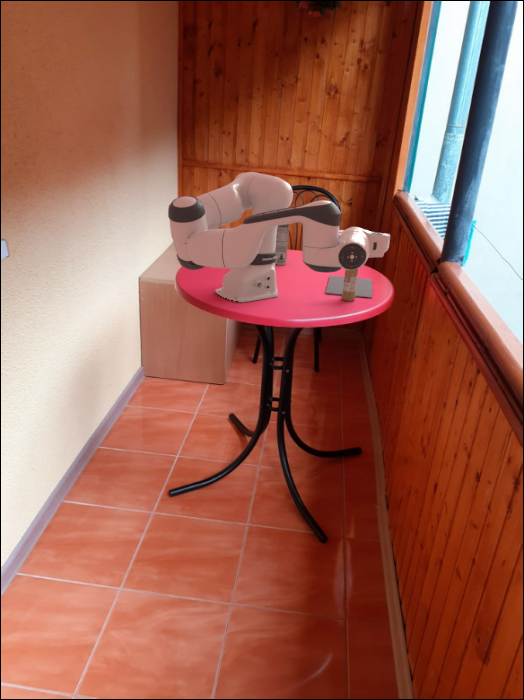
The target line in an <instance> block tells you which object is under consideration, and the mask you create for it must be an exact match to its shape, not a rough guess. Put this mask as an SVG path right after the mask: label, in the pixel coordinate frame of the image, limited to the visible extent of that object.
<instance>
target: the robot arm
mask: <svg viewBox="0 0 524 700" xmlns="http://www.w3.org/2000/svg"><path fill="white" fill-rule="evenodd" d="M293 199H294V191H293V188H292V186H291V185H290V183H288V182H287V181H286V180H284V179H282V178H280V177H279V176H273V175H270V174H265V173H261V172H260V173H259V172H256V171H248V172H247V171H246V172H242V173H241V172H240V173H239V174H237V175H236V176H235V178H234V180H233V181H232V182H230V183H228V184H226V185H224V186H222V187H220V188H216V189H213V190H211V191H208V192H206V193H203V194H200V195H198V196H196V197H195V196H191V195H185V196H184V195H183V196H179V197H177V198H175V199H173V200H172V201H171V202H170V204H169V205H168V210H167V211H168V213H167V216H168V219H169V228H170V229H169V230H170V234H171V235H170V236H171V239H172V242H173V246H174V249H175V251H176V258H177V260H178V262H179V264H180V266H182V267H183V268H185V269H187V270H191V271H196V270H202V269H204V268H207V267H208V268H213V269H214V268H215V269H230V270H229V271H228V272H227V273H226V274H224V276H223V279H222V285H221V286H222V287H221V286H220V287H219V288H216V289H215V290H214V291H215V292H216V293H217V294H219V295H220V296H222V297H221V298H223V297H224V298H223V299H225V298H227V299H226V300H228V299H229V300H228V301H231V300H233V301H232V302H236V301H238V302H237V303H249V302H252V301H258V300H259V301H260V300H264V299H272V298H275V297H276V298H277V297H278V296H279V293H278V292H279V290H278V287H277V286H278V285H277V272H276V271H277V270H276V264H275V262H276V257H277V255H276V250H275V247H276V234H277V227H278V226H280V225H285V224H289V225H291V224H296V223H301V224H302V262H303V263H304V265H305V266H306V267H308V268H309V269H310V270H312V271H314V272H317V273H335V272H338V271H340V270H341V269H343V270H344V271H345V270H356V269H358V270H359V269H360V268H362V267H363V266H365V264H366V262H367V261H368V259H369V258H371V259H373V258H383V257H384V256H385V255H384V254H386V253H387V251H388V250H389V248H390V240H391V234H390V233H383V232H375V231H370V230H368V229H364V228H361V227H358V226H349V227H348V228H346V229H340V226H341V225H340V224H341V217H342V212H341V210H340V209H339V207H338V206H337V205H336V204H335V202H333V201H332V200H324V199H322V200H317V201H312V202H310V203H307V204H301V205H298V206H296V205H295V206H291V205H292V202H293ZM290 206H291V207H290ZM251 209H252V211H251V212H252V213H251V215H250V216H247V217H245V218H244V219H243V222H242V223H241V224H240V225H237V226H235V227H231V228H225V227H224V228H221V227H223V226H226V225H228V224H232V223H233V222H236V221H238V220H240V218H241V217H242V215H243V214H244V213H245V212H246V211H248V210H251ZM215 292H214V293H215ZM216 293H215V294H216ZM217 294H216V295H217ZM220 296H219V297H220Z"/></svg>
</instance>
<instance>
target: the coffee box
mask: <svg viewBox="0 0 524 700" xmlns="http://www.w3.org/2000/svg"><path fill="white" fill-rule="evenodd" d="M289 225H290V224H285V225H280V226H278V227H277V234H276V247H275V250H276V255H277V257H276V262H275V265H276V264H277V265H278V266H279V265H281V266H287V259H288V258H287V256H288V255H287V254H288V243H289Z"/></svg>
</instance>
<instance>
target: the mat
mask: <svg viewBox="0 0 524 700" xmlns="http://www.w3.org/2000/svg"><path fill="white" fill-rule="evenodd" d="M344 277H345V276H337V275H329V278H328V282H327V286H326V290H325V295H333V296H341V295H342V294H343V284H344ZM361 297H368V298H367V299H371V298H372V299H373V279H372V278H371V279H370V278H358V277H357V285H356V291H355V298H361Z"/></svg>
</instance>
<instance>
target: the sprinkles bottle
mask: <svg viewBox="0 0 524 700" xmlns="http://www.w3.org/2000/svg"><path fill="white" fill-rule="evenodd" d="M358 273H359V268H358V269H356V270H345V269H344V276H343V277H344V284H343V294H342V296H341V299H342V300H343V301H344V302H353V301H355V300H356V297H355V291H356V285H357V278H358Z"/></svg>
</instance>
